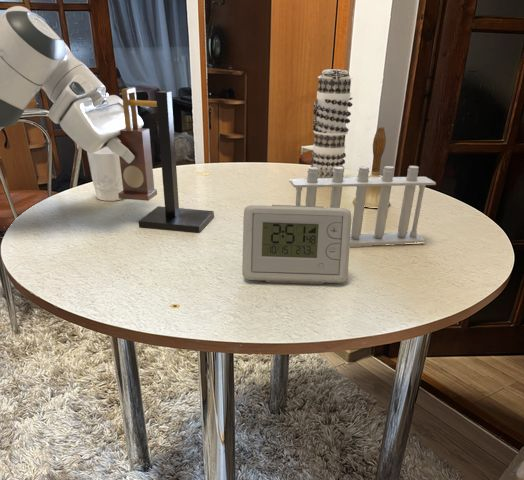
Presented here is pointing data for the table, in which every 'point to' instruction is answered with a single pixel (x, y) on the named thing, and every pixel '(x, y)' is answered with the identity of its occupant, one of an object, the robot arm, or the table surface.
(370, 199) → the hand bell
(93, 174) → the white cup
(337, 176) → the test tube rack
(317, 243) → the digital clock
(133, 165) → the clock
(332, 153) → the white patterned cylinder
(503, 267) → the table surface
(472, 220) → the table surface
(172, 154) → the stand
